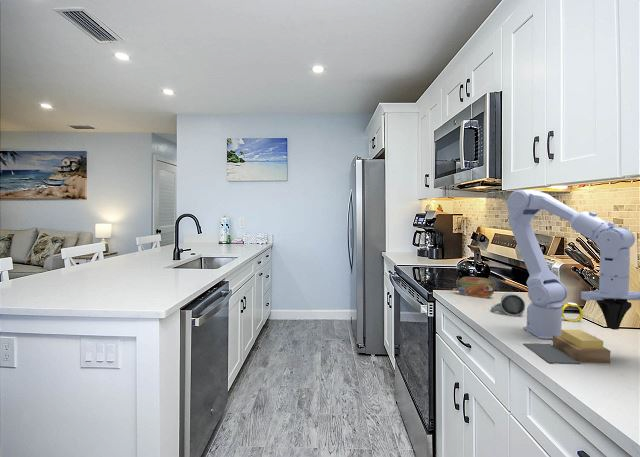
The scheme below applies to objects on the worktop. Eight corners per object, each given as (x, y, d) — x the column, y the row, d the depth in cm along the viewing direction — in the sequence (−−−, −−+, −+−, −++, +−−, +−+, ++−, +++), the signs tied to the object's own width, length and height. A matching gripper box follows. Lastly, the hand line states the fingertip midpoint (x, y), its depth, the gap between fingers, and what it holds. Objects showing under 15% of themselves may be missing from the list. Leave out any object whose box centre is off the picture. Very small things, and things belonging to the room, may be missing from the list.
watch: (579, 321, 116) (581, 303, 115) (583, 323, 113) (585, 305, 113) (558, 318, 117) (560, 301, 117) (562, 320, 115) (564, 303, 114)
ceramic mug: (522, 311, 126) (522, 290, 126) (525, 317, 119) (525, 295, 119) (490, 308, 131) (490, 288, 131) (491, 314, 123) (491, 293, 123)
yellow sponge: (561, 336, 92) (561, 329, 92) (580, 337, 92) (580, 329, 92) (581, 348, 84) (581, 340, 84) (603, 349, 84) (603, 340, 84)
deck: (552, 346, 93) (552, 335, 93) (581, 346, 93) (581, 335, 93) (577, 362, 83) (577, 350, 83) (610, 362, 83) (610, 350, 83)
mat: (522, 344, 95) (522, 343, 95) (550, 344, 94) (550, 343, 94) (548, 363, 83) (548, 362, 83) (580, 364, 82) (580, 362, 82)
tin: (456, 294, 152) (456, 275, 152) (458, 293, 155) (458, 274, 154) (494, 299, 144) (494, 279, 143) (495, 297, 146) (495, 278, 146)
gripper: (595, 278, 83) (594, 333, 84) (659, 278, 82) (657, 334, 83) (575, 273, 90) (574, 324, 91) (634, 273, 89) (632, 324, 90)
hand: (612, 328), depth 87 cm, fingers closed
